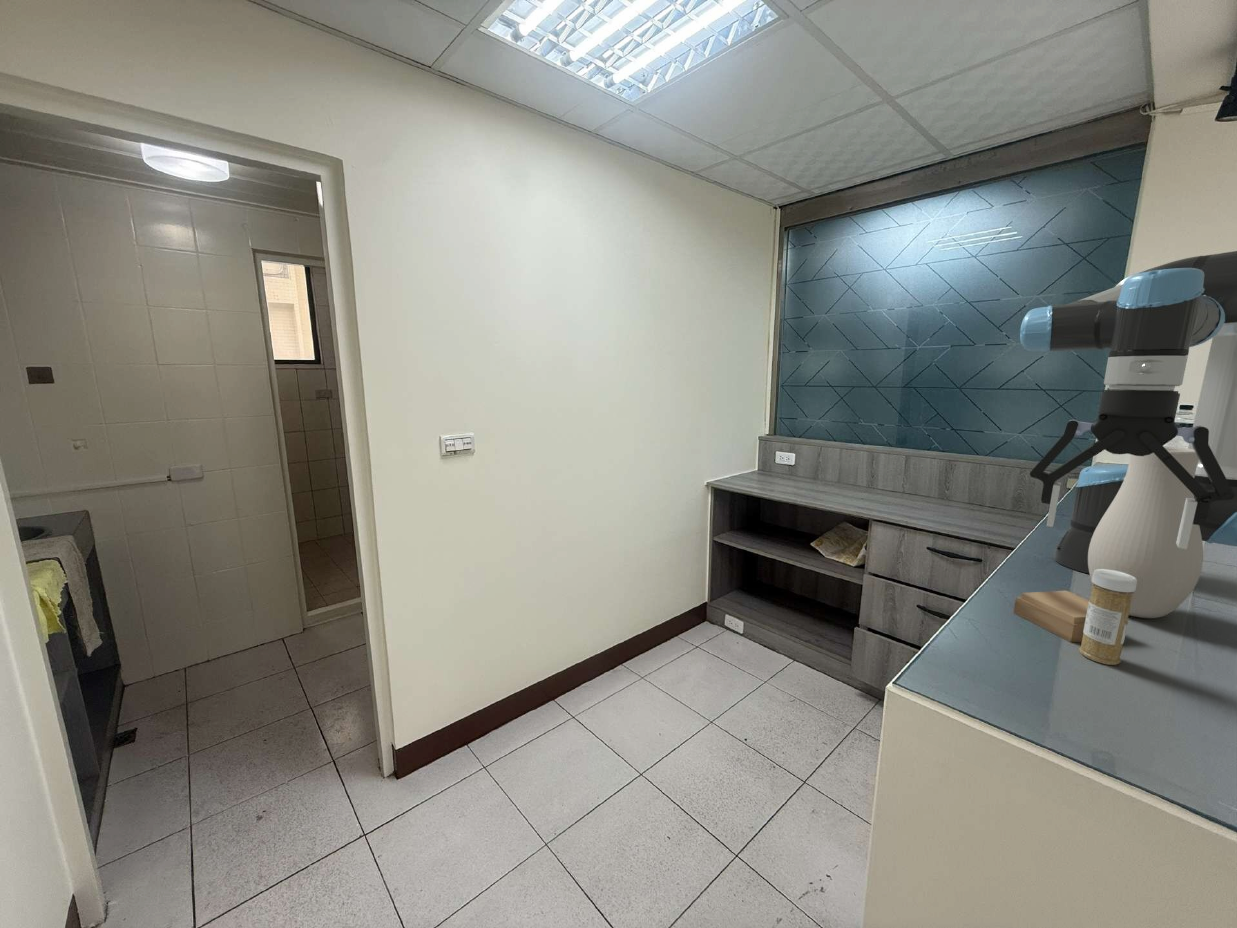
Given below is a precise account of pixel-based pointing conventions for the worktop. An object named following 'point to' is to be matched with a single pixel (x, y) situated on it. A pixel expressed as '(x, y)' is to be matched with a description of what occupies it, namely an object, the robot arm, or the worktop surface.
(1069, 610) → the pedestal
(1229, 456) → the robot arm
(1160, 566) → the vase
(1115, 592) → the sprinkles bottle
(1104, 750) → the worktop surface
